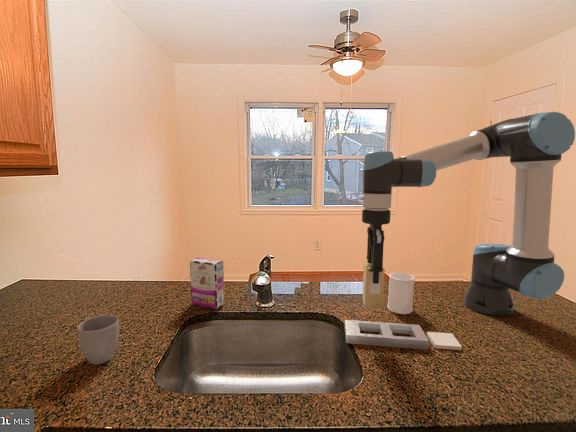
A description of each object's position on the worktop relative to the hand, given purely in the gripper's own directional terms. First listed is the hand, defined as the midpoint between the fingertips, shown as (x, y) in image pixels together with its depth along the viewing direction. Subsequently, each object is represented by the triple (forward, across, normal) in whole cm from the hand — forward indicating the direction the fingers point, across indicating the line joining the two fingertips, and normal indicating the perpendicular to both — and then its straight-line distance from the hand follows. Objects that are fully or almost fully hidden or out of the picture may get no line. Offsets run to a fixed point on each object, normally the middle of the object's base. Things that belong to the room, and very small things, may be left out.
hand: (373, 289), depth 88 cm
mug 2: (+15, -19, +13) cm, 27 cm away
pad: (+15, 0, +20) cm, 25 cm away
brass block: (+4, 0, 0) cm, 4 cm away
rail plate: (+15, 0, +4) cm, 15 cm away
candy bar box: (+14, -14, -55) cm, 59 cm away
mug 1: (+14, +19, -70) cm, 74 cm away
